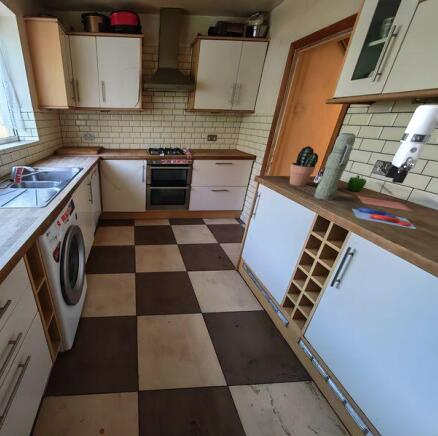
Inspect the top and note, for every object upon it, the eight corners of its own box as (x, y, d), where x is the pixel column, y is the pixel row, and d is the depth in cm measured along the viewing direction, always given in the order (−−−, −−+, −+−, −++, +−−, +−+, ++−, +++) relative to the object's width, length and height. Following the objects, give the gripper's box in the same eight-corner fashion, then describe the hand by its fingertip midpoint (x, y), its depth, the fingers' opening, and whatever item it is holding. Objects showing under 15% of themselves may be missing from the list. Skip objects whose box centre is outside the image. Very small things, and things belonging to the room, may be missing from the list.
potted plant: (284, 184, 153) (295, 146, 142) (286, 180, 163) (297, 144, 152) (308, 188, 146) (322, 148, 135) (309, 183, 156) (322, 146, 145)
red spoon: (408, 223, 101) (410, 219, 100) (412, 227, 97) (414, 223, 96) (367, 216, 107) (369, 212, 106) (370, 219, 104) (372, 215, 103)
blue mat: (405, 219, 106) (405, 218, 106) (416, 230, 96) (417, 229, 96) (351, 209, 116) (351, 208, 115) (356, 218, 105) (356, 217, 105)
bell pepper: (353, 188, 149) (360, 173, 145) (364, 192, 141) (372, 177, 137) (341, 188, 149) (347, 173, 144) (352, 192, 141) (359, 176, 137)
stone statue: (321, 201, 125) (347, 134, 110) (309, 194, 135) (331, 132, 120) (338, 202, 124) (366, 134, 109) (324, 195, 135) (348, 132, 120)
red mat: (404, 204, 125) (404, 203, 124) (413, 212, 115) (413, 211, 114) (357, 196, 134) (357, 196, 134) (362, 203, 124) (362, 202, 123)
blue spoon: (393, 216, 108) (395, 212, 107) (396, 219, 104) (399, 215, 103) (356, 209, 114) (358, 205, 113) (358, 212, 111) (360, 208, 110)
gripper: (438, 141, 83) (412, 186, 91) (419, 138, 96) (398, 177, 104) (410, 139, 87) (387, 183, 94) (395, 136, 100) (376, 174, 107)
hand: (393, 180), depth 99 cm, fingers open, 9 cm apart
